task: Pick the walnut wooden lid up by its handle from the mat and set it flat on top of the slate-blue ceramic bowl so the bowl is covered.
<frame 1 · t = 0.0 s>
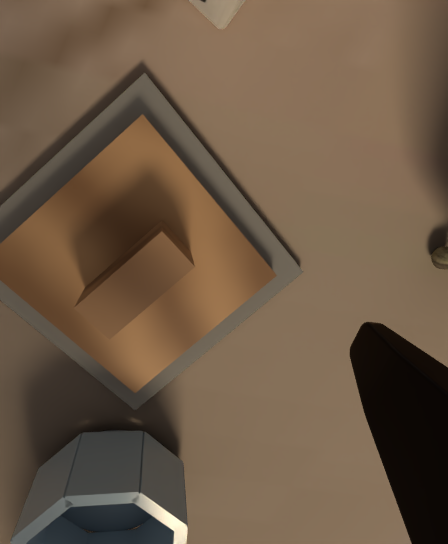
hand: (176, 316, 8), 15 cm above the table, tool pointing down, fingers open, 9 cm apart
bowl: (114, 476, 28), on the table
mat: (139, 261, 24), on the table
lid: (139, 264, 23), point 1 cm above the table, touching mat
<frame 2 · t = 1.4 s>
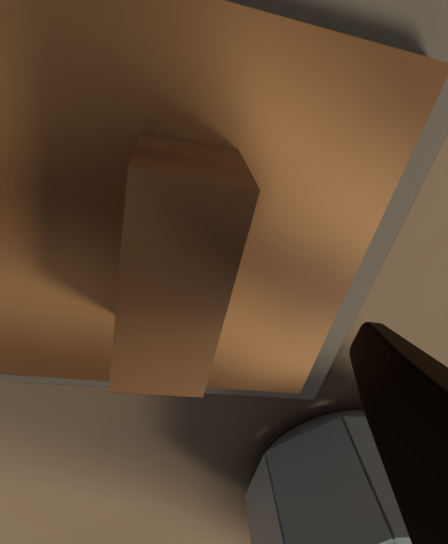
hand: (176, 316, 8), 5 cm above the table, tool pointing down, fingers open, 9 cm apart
bowl: (335, 459, 21), on the table
mat: (174, 220, 12), on the table
lid: (174, 228, 12), point 1 cm above the table, touching mat
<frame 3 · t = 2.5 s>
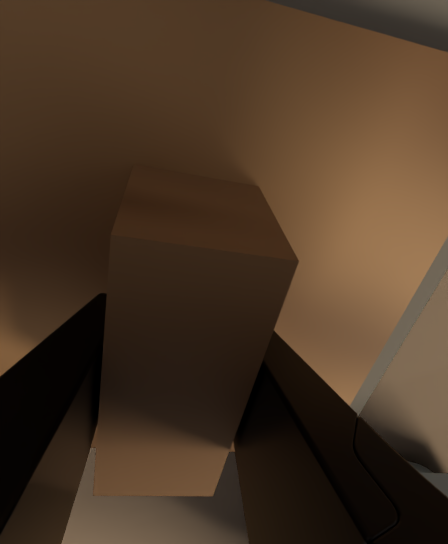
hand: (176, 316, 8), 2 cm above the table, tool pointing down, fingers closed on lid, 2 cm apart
bowl: (354, 509, 19), on the table
mat: (175, 263, 10), on the table
lid: (176, 274, 10), point 1 cm above the table, touching gripper, mat
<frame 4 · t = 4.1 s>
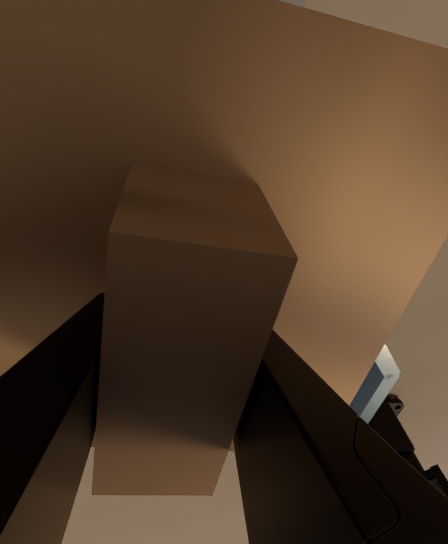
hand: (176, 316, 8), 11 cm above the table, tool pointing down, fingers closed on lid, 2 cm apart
bowl: (270, 319, 24), on the table
lid: (175, 273, 10), point 10 cm above the table, touching gripper
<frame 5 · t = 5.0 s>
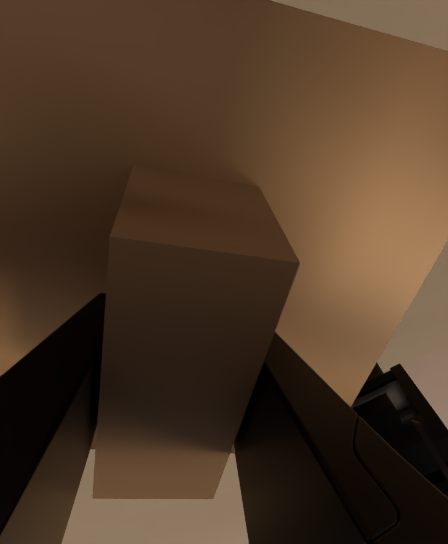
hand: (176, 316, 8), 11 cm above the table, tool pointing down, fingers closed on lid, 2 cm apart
lid: (176, 275, 10), point 10 cm above the table, touching gripper
when the fingers open (9 cm above the table, at t = 5.9 s): lid drops 1 cm, resting on bowl.
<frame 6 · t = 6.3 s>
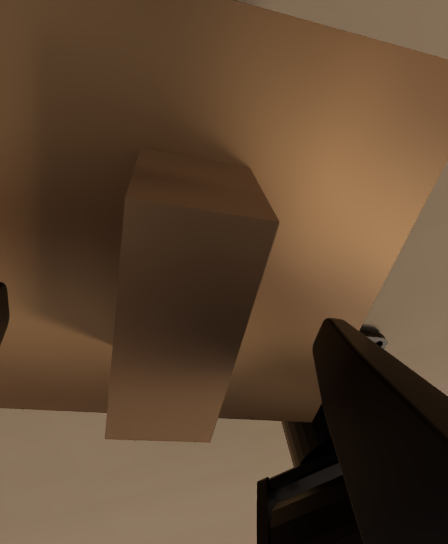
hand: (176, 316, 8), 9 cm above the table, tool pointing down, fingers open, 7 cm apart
lid: (177, 251, 11), point 6 cm above the table, touching bowl
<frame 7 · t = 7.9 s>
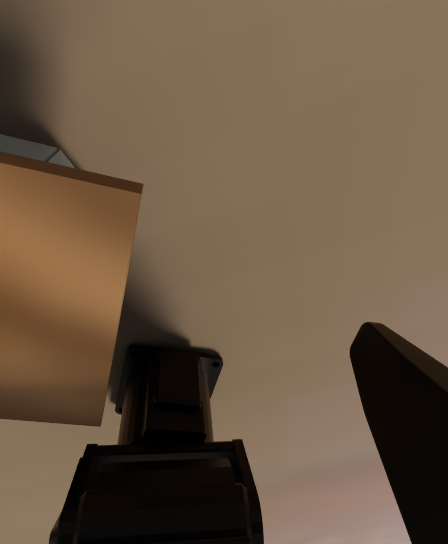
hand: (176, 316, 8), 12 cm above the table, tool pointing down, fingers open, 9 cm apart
bowl: (16, 228, 20), on the table
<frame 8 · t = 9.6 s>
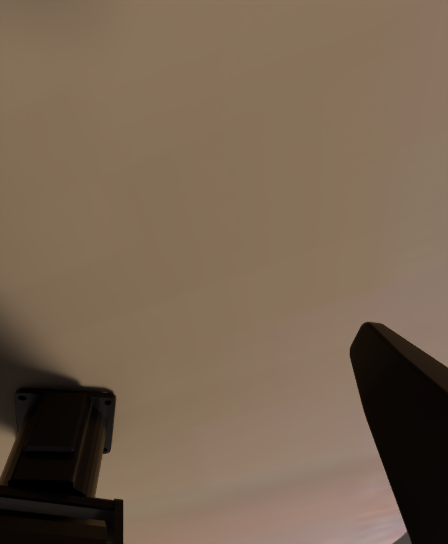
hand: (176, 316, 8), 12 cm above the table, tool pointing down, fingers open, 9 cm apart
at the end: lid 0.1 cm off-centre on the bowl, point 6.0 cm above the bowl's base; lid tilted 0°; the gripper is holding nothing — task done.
